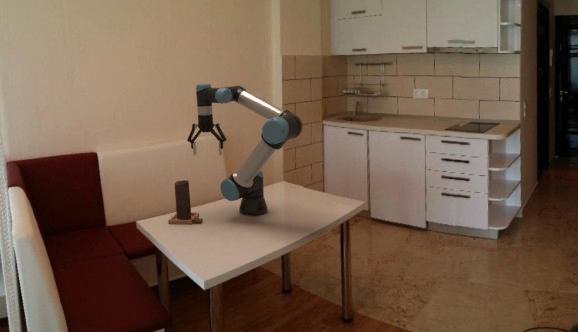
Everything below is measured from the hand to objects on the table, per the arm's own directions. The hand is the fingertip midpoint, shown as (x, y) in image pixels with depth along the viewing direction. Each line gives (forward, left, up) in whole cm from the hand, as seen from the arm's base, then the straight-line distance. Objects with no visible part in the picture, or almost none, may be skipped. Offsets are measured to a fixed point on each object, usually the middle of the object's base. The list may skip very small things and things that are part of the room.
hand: (207, 155), depth 269 cm
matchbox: (+3, +16, -32) cm, 35 cm away
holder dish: (+11, +12, -32) cm, 35 cm away
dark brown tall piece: (+11, +12, -31) cm, 35 cm away
